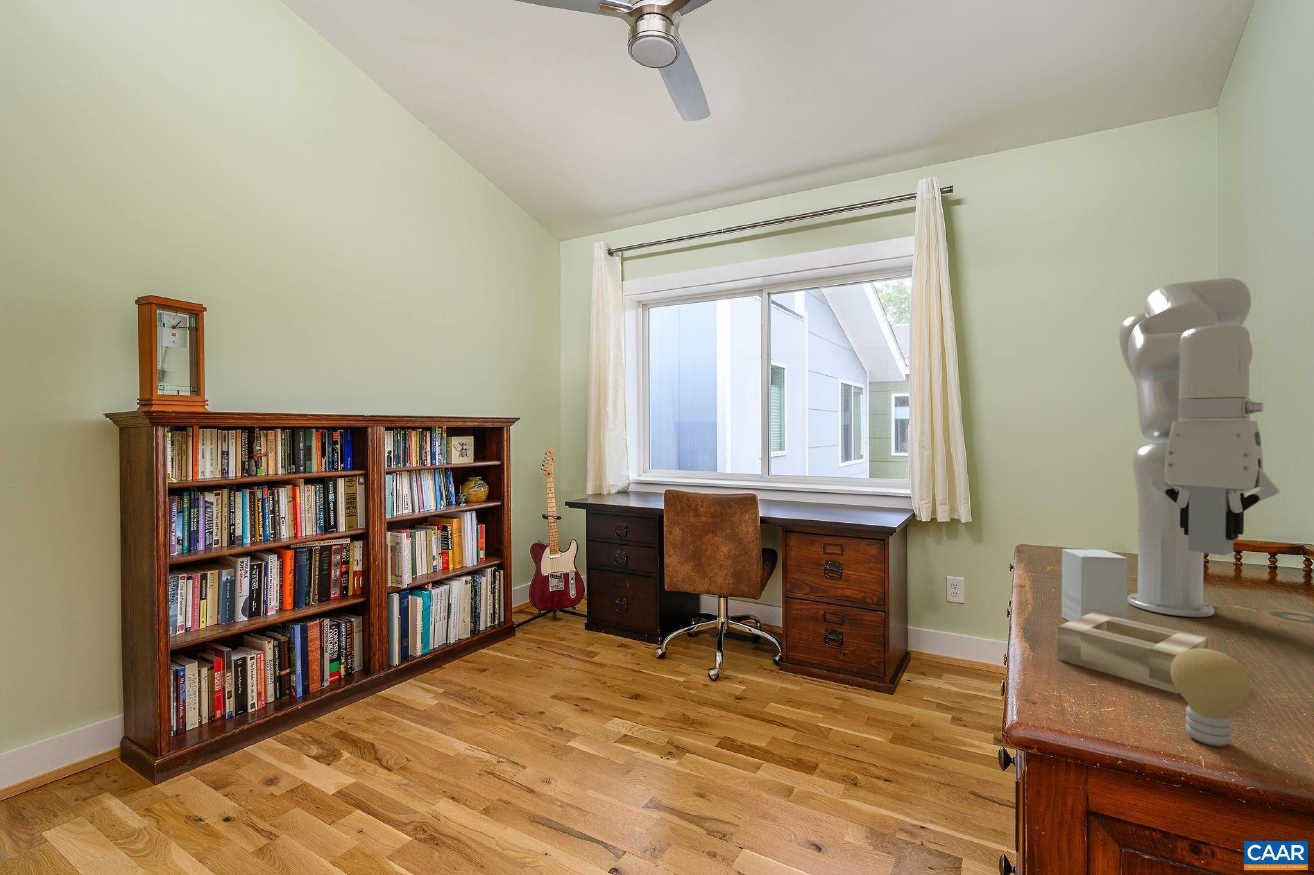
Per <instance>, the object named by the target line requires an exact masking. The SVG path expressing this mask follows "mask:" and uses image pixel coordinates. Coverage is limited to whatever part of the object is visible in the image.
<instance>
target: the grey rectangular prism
mask: <svg viewBox="0 0 1314 875" xmlns="http://www.w3.org/2000/svg"><path fill="white" fill-rule="evenodd" d="M1229 508H1230V503H1229V499H1228V495H1227V490H1226V487H1205V486H1193V485H1189V531H1188V551H1196V552H1203V553H1205V554H1212V555H1219V556H1226V555H1229V554H1232V553H1233V552H1234V540H1227V539H1226V514H1227V512H1229Z"/></svg>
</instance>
